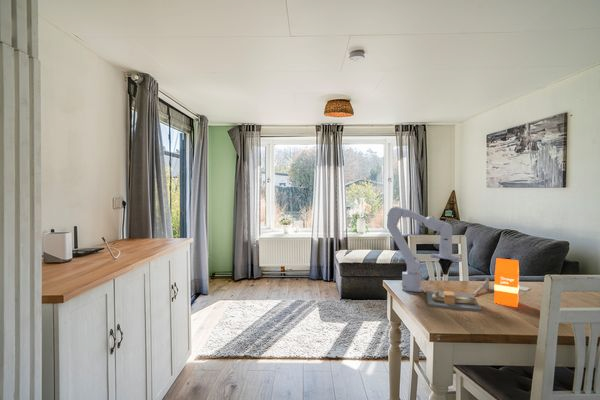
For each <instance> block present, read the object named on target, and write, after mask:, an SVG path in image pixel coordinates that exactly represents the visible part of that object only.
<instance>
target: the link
mask: <svg viewBox="0 0 600 400" xmlns="http://www.w3.org/2000/svg"><path fill="white" fill-rule="evenodd" d="M434 291H435V294H433V295H432V300H435V301H445V296H444V295H439V292H440V291H437V290H434ZM476 301H477V298H476V297H474V298H469V297H457V296H455V302H458V303H469V304H476Z"/></svg>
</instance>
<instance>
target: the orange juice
mask: <svg viewBox="0 0 600 400" xmlns="http://www.w3.org/2000/svg"><path fill="white" fill-rule="evenodd" d="M494 269H495V270H494V286H493V288H494V299H493V300H494V301H493V302H494V304H496V303H497V305H503V306H509V307H513V308H514V307H515V308H518V305H519V301H520V300H519V296H520V295H519V292H520V290H519V286H520V265H519V259H507V258H499V257H498V258H497V257H496V260H495V267H494Z"/></svg>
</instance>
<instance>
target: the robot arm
mask: <svg viewBox="0 0 600 400" xmlns="http://www.w3.org/2000/svg"><path fill="white" fill-rule="evenodd" d="M386 215H387V217H386V218H387V221H386V228H387V229H388V232H389V233H390V235H391V237H392V238H393V240H394V242H395V244H396V246H397V248H398V249H399V251H400V253H401V255H402V256H403V259H404V262H405V263H406V271H402V274H401V278H402V280H401V281H402V282H401V286H402V287H401V288H402V289H401V291H406V292H417V293H422V292H423V288H422V271H421V270H420V269H421V261H420V260H419V259H418V258H417V257H416V256H415V255H414V252H412V250H411V248H410V247H409V244H408V243H407V241H406V239H405V238H404V236H403V234H402V232H401V230H400V229H399V227H398V223H399V221H400V219H401V218H410V219H412V220H414V221H417V222H420V223H423V224H424V227H425V228H428V229H431V230H433V231H434V232H440V233H439V235H440V236H439V251H438V253H431V254H430V258H431V259H437V261H438V264H439V266H440V268H441V271H442V274H443V275H444V276H447V275H448V274H449V270H450V268H451V266H452V264H453V263H454V262H457V263H462V257H458V256H454V255H453V238H452V237H453V231H454V230H453V227H452V225H451V224H450V223H449V222H445V220H440V219H438V218H436V216H432V215H431V216H426V217H425V216H424V215H422V214H419V213H418V212H415V211H412V210H411V209H408V208H404V207H400V206H396V205H395V206H394V207H393V206H392V207H391V208H390V209H389V210H388V213H387V214H386Z"/></svg>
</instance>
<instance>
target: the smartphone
mask: <svg viewBox="0 0 600 400" xmlns="http://www.w3.org/2000/svg"><path fill="white" fill-rule="evenodd" d="M530 290H531V288H530V287H526V286H522V285H519V292H521V291H522V292H527V291H530Z"/></svg>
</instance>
